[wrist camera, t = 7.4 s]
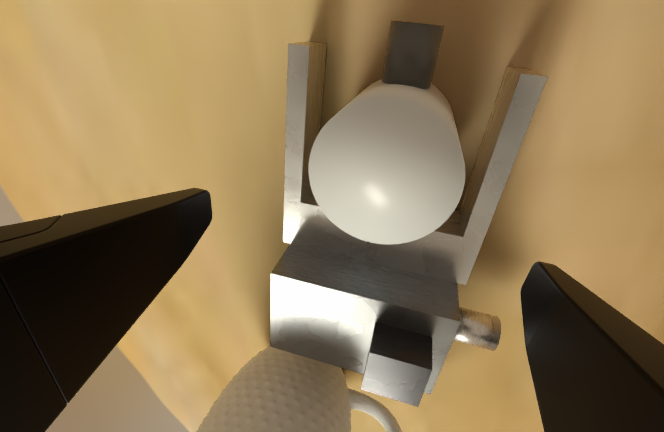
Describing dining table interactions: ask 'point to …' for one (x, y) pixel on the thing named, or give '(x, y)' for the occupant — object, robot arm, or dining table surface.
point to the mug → (290, 398)
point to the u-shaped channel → (385, 254)
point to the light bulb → (392, 149)
